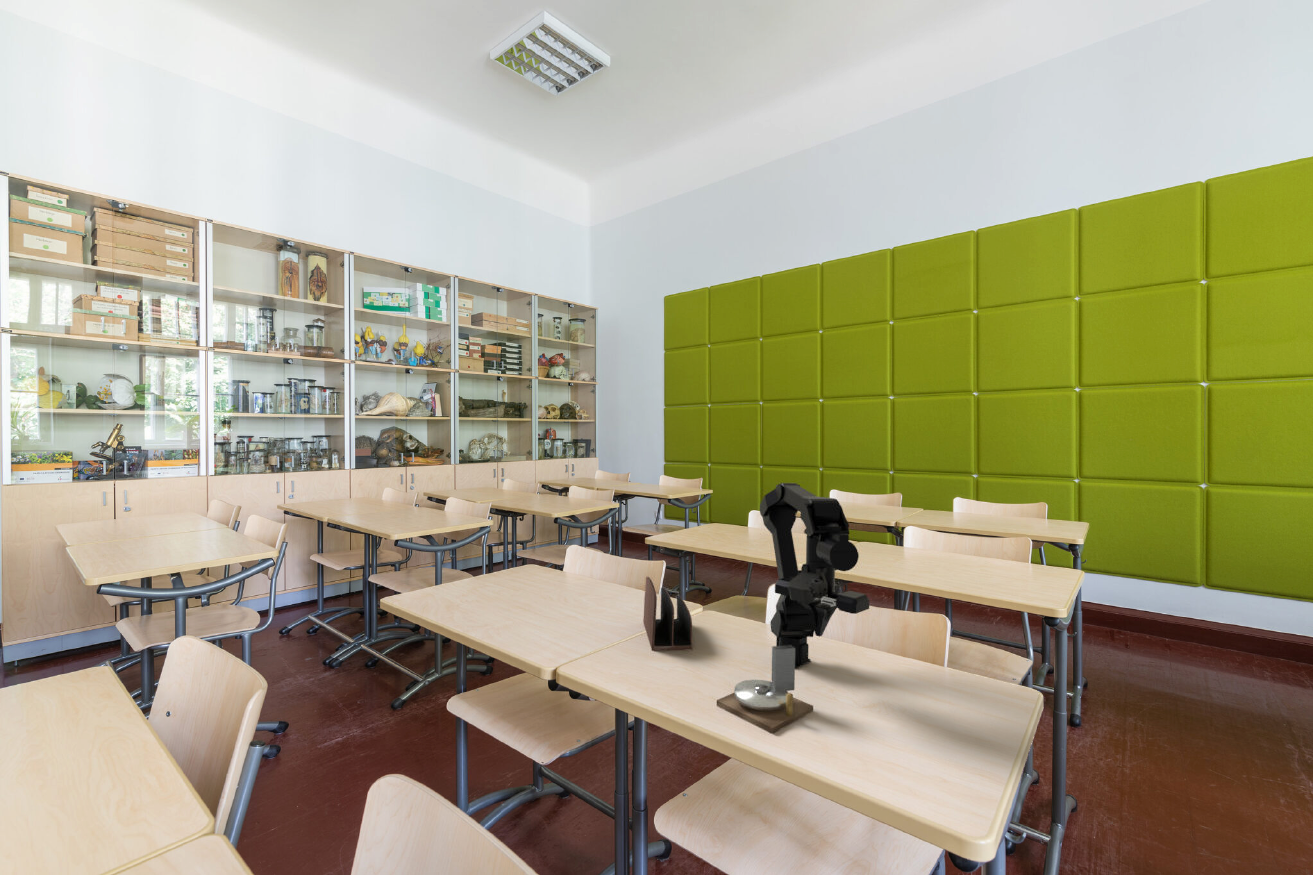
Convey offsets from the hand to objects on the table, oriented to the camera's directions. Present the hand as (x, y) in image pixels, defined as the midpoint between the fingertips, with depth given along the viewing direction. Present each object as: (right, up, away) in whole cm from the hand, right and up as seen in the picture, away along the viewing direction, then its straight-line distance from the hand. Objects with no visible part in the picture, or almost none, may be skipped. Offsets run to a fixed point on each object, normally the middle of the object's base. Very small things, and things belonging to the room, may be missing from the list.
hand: (819, 635), depth 112 cm
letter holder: (-31, -11, +29) cm, 44 cm away
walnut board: (-13, -11, -8) cm, 19 cm away
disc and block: (-13, -9, -8) cm, 17 cm away
